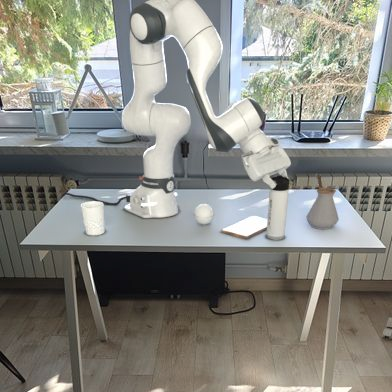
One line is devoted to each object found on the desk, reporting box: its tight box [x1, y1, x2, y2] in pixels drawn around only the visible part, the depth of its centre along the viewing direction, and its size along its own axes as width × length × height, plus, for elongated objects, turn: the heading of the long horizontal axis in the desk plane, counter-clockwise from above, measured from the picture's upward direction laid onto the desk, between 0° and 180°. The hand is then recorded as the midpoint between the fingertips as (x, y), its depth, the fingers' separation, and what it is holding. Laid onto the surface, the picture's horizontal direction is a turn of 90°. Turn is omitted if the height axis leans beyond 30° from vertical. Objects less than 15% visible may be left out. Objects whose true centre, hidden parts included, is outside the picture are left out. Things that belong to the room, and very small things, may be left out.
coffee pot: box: [306, 172, 340, 230], centre depth 183 cm, size 21×12×15 cm, turn 0°
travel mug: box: [266, 174, 290, 241], centre depth 169 cm, size 6×7×20 cm
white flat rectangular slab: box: [221, 214, 268, 240], centre depth 182 cm, size 11×20×1 cm, turn 140°
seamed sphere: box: [193, 203, 215, 226], centre depth 183 cm, size 10×7×7 cm
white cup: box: [80, 200, 106, 236], centre depth 177 cm, size 8×8×10 cm
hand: (281, 184), depth 164 cm, fingers closed on travel mug, 6 cm apart
